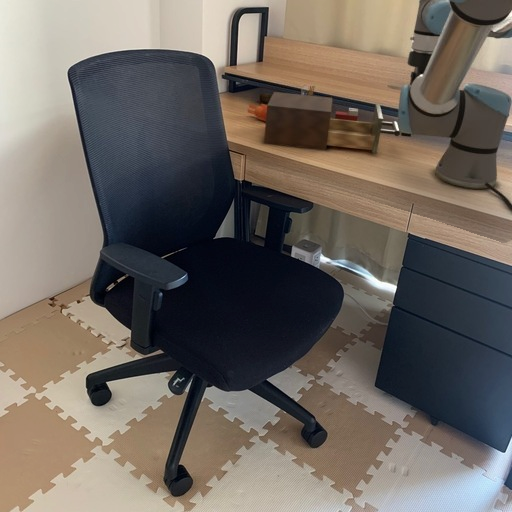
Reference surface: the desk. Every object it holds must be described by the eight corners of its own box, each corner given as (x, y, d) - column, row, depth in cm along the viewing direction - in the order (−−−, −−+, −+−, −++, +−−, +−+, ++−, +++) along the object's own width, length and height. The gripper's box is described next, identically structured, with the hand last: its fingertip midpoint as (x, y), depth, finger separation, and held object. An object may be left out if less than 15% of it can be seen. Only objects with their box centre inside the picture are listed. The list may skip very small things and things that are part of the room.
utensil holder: (307, 117, 180) (311, 81, 174) (316, 122, 175) (320, 85, 169) (291, 117, 178) (295, 81, 172) (300, 123, 173) (304, 86, 167)
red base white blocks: (355, 128, 172) (358, 108, 169) (355, 131, 169) (358, 111, 166) (333, 126, 172) (336, 106, 169) (333, 129, 170) (336, 109, 166)
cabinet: (327, 133, 166) (332, 97, 160) (325, 150, 151) (331, 111, 145) (271, 126, 167) (274, 91, 162) (264, 143, 153) (267, 105, 147)
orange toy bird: (246, 99, 172) (276, 107, 166) (259, 103, 178) (288, 110, 173) (243, 114, 173) (272, 122, 168) (255, 118, 180) (284, 126, 174)
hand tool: (258, 103, 192) (259, 90, 190) (266, 101, 195) (267, 89, 192) (291, 116, 180) (293, 102, 178) (300, 115, 182) (302, 101, 180)
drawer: (392, 138, 163) (398, 106, 158) (397, 155, 149) (404, 120, 144) (316, 130, 165) (320, 98, 160) (313, 146, 151) (317, 111, 146)
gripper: (408, 46, 148) (391, 127, 160) (412, 53, 137) (394, 140, 149) (435, 48, 147) (416, 130, 159) (441, 56, 136) (421, 144, 148)
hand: (405, 135), depth 154 cm, fingers closed
